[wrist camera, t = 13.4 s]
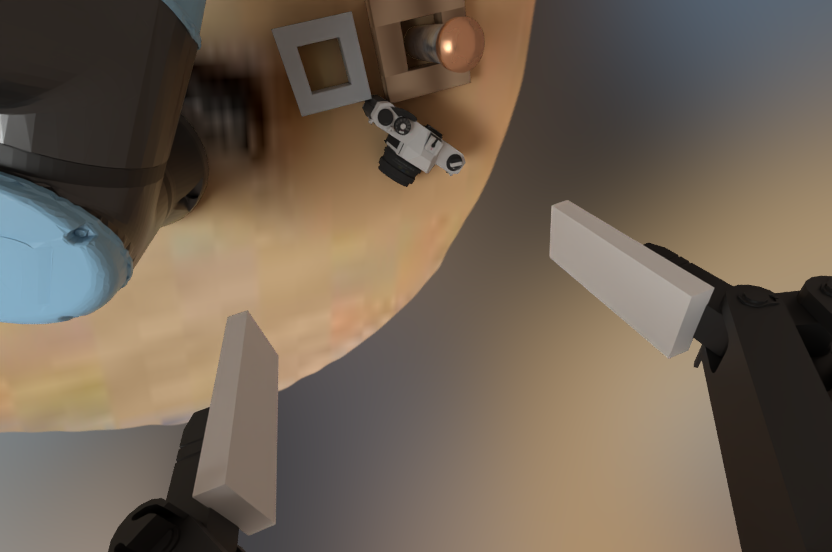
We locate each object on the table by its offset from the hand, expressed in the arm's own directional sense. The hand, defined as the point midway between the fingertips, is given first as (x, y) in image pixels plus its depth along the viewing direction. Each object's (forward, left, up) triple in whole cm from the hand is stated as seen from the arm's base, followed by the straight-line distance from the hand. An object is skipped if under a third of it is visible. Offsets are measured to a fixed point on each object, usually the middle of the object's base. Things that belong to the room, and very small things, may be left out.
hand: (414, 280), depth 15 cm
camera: (+7, -5, -35) cm, 36 cm away
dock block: (+12, +6, -35) cm, 37 cm away
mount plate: (+1, +6, -35) cm, 35 cm away
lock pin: (+12, +6, -35) cm, 37 cm away
